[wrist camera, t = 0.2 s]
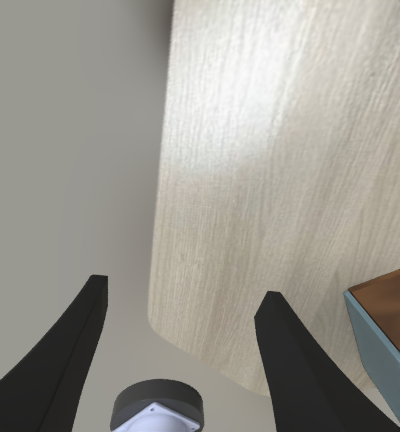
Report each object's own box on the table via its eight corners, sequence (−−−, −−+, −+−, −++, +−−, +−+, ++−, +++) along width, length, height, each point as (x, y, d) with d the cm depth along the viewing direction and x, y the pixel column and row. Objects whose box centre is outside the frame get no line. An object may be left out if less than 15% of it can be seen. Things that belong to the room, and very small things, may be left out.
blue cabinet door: (358, 368, 35) (417, 462, 27) (336, 294, 29) (405, 385, 20) (373, 363, 35) (437, 456, 26) (354, 288, 29) (431, 376, 20)
